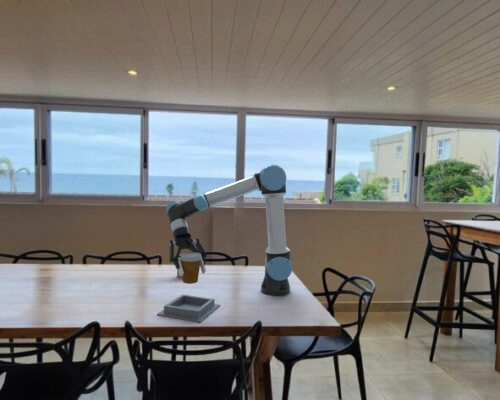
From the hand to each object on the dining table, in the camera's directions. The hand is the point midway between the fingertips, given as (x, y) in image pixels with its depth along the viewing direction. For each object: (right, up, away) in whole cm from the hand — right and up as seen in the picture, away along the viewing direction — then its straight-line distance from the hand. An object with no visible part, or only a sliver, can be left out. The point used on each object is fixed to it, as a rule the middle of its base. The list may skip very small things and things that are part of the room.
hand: (193, 273), depth 151 cm
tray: (-2, -17, +4) cm, 17 cm away
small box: (-13, -13, +56) cm, 59 cm away
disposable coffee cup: (-2, -4, +3) cm, 6 cm away
